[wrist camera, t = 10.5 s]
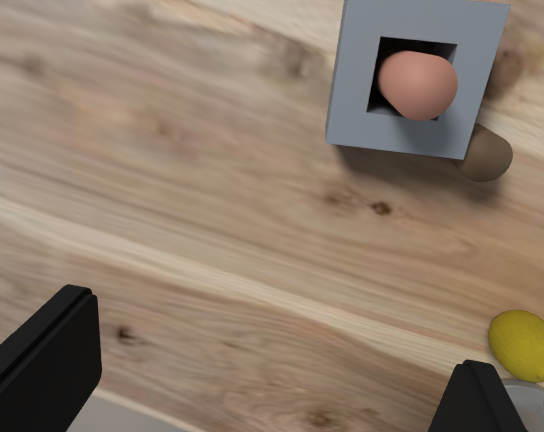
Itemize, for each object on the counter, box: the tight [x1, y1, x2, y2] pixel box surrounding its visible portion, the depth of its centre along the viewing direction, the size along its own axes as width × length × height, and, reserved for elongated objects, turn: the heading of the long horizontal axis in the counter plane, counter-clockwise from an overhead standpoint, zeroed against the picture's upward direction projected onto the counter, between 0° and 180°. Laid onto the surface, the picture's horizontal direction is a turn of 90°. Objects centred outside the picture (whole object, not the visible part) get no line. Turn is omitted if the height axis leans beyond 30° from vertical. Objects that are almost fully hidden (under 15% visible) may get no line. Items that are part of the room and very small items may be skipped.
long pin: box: [372, 49, 458, 121], centre depth 28 cm, size 4×4×11 cm
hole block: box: [325, 0, 511, 160], centre depth 30 cm, size 10×10×6 cm
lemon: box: [488, 310, 544, 383], centre depth 37 cm, size 6×6×8 cm
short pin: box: [449, 123, 513, 182], centre depth 32 cm, size 4×4×5 cm
